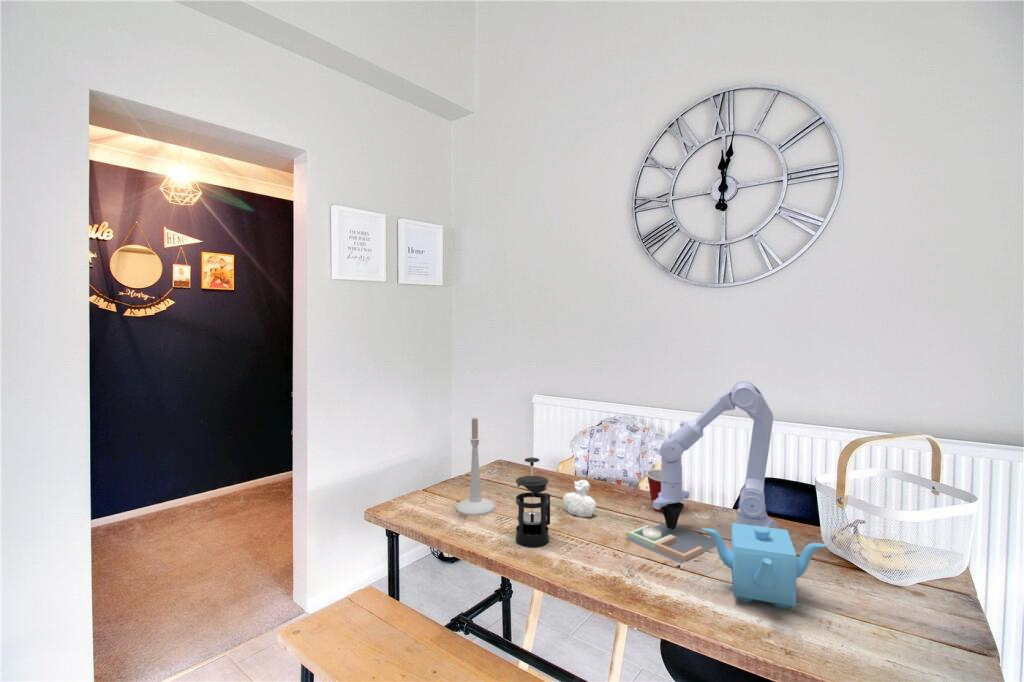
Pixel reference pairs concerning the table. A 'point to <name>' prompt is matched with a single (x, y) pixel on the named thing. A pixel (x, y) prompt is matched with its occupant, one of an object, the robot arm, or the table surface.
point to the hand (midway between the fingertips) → (671, 527)
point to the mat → (680, 541)
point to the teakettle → (763, 563)
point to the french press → (532, 520)
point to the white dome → (652, 533)
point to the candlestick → (475, 483)
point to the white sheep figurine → (579, 500)
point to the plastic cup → (654, 484)
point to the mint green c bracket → (637, 536)
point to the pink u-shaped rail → (682, 556)
